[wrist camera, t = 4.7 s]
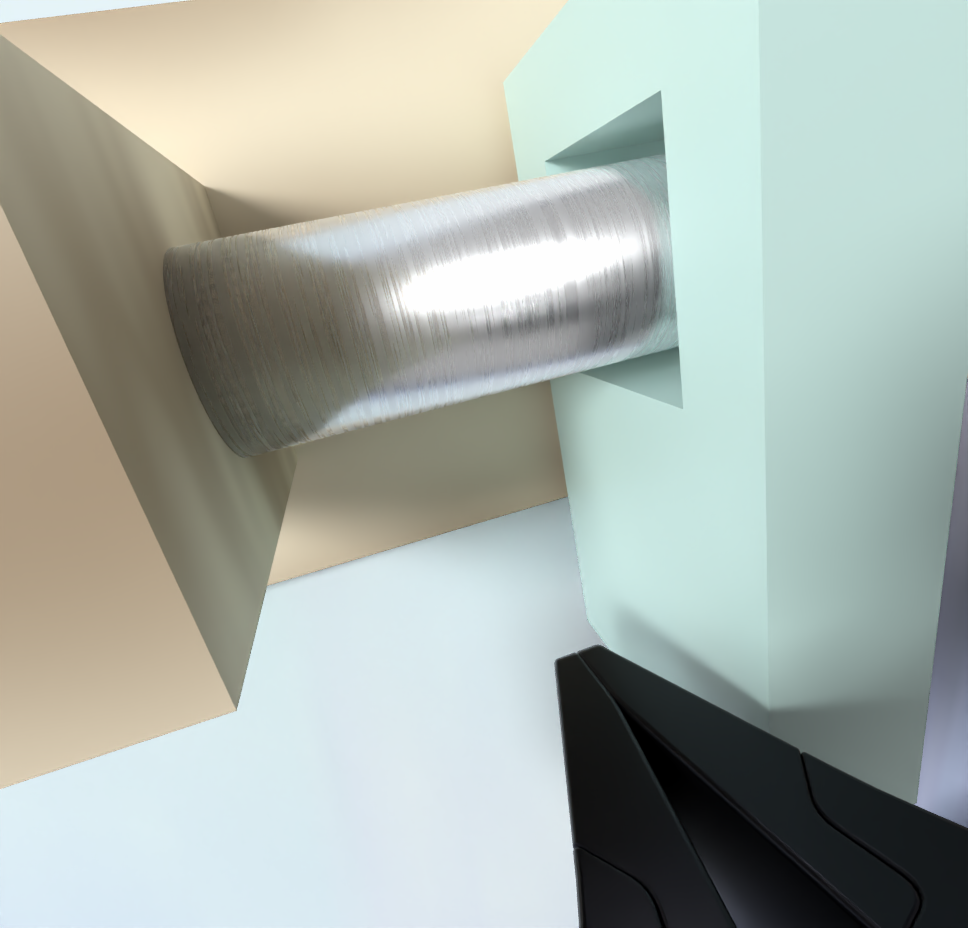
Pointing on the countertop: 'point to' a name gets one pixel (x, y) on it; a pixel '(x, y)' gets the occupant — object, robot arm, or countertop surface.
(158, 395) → the beige cradle stand
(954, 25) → the collar
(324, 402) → the pipe
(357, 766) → the countertop surface
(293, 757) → the countertop surface
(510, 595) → the countertop surface
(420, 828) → the countertop surface
